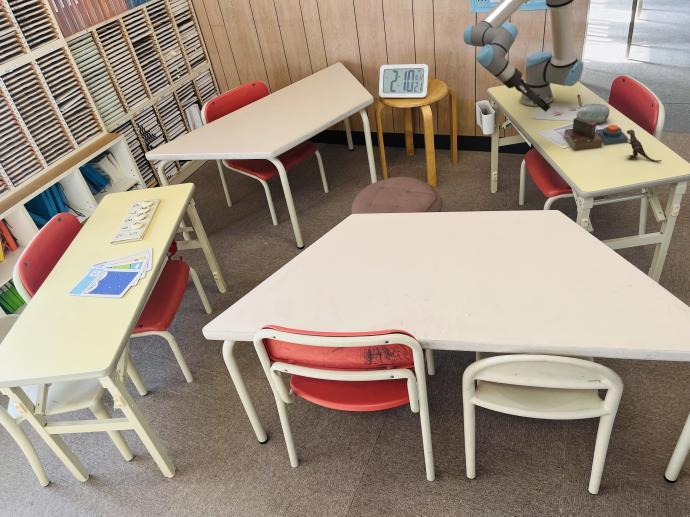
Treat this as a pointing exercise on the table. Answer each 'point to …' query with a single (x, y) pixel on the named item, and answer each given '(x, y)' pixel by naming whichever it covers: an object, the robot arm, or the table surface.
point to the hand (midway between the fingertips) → (547, 108)
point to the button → (612, 128)
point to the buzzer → (612, 136)
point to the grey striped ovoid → (593, 113)
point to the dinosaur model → (637, 147)
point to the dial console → (582, 140)
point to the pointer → (584, 128)
